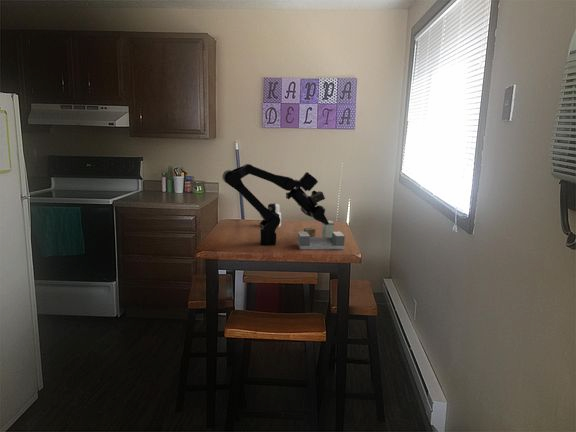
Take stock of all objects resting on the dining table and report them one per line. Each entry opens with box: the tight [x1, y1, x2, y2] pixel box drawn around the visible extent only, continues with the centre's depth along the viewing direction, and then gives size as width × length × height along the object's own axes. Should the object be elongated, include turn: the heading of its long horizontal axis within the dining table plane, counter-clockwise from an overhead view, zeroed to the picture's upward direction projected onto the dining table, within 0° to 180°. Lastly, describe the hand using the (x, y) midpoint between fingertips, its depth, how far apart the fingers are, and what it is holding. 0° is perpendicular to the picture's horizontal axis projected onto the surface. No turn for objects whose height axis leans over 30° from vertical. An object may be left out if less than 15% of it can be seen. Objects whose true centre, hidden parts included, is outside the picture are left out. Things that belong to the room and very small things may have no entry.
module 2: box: [332, 231, 346, 246], centre depth 192 cm, size 4×8×4 cm, turn 7°
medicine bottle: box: [267, 203, 282, 229], centre depth 232 cm, size 7×7×12 cm
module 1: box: [297, 231, 310, 246], centre depth 190 cm, size 4×8×4 cm, turn 7°
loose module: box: [321, 220, 335, 237], centre depth 202 cm, size 4×5×9 cm
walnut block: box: [303, 227, 316, 237], centre depth 210 cm, size 4×4×4 cm
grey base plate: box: [296, 236, 345, 250], centre depth 192 cm, size 19×10×3 cm, turn 97°
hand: (324, 222), depth 201 cm, fingers open, 9 cm apart
